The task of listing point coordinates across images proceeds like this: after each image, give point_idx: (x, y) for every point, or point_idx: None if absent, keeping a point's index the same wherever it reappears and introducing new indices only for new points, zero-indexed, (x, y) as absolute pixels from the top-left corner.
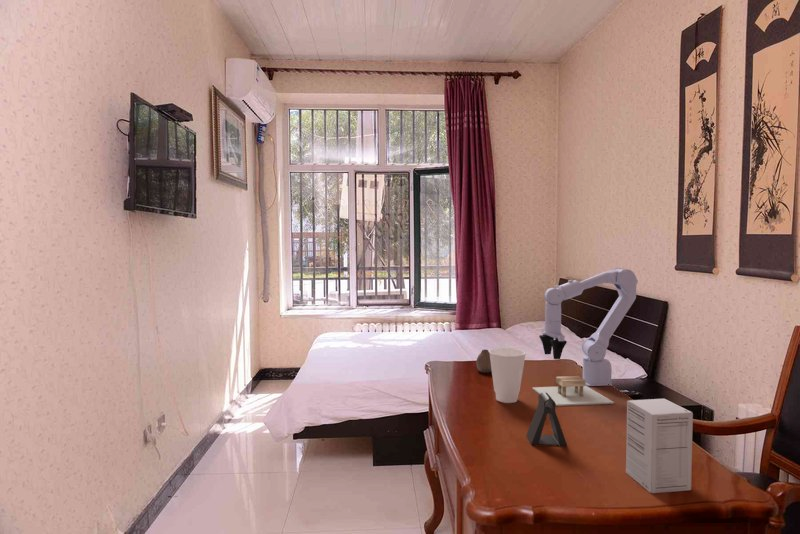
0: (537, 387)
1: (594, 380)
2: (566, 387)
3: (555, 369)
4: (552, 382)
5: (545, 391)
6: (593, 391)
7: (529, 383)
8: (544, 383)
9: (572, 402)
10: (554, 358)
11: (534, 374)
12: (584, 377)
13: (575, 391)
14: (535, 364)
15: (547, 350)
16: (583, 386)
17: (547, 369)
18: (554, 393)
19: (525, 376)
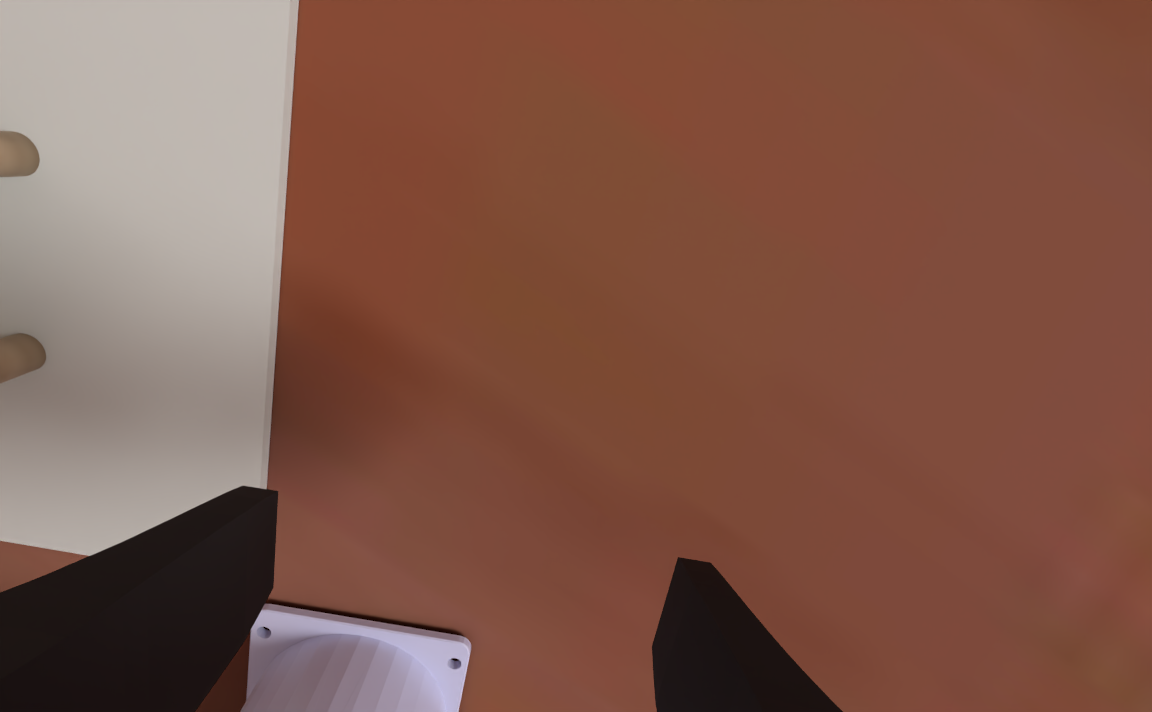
0: (276, 18)
1: (245, 702)
2: (219, 368)
3: (880, 673)
4: (484, 369)
5: (95, 14)
6: (52, 530)
7: (528, 71)
8: (475, 258)
9: None
10: (240, 490)
11: (831, 369)
12: (331, 673)
13: (2, 339)
14: (1143, 608)
15: (683, 655)
16: None
17: (920, 607)
18: (3, 78)
19: (810, 213)
